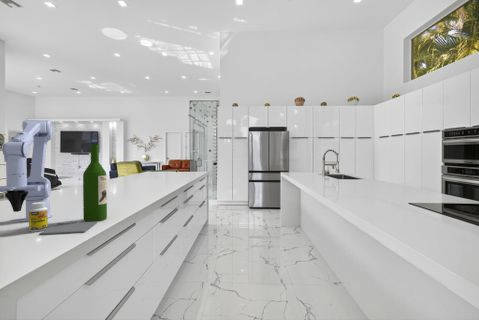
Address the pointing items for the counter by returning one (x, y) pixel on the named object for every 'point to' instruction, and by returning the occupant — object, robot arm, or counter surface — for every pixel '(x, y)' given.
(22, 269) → the counter surface
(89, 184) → the wine bottle
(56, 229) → the mat
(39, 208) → the supplement bottle
